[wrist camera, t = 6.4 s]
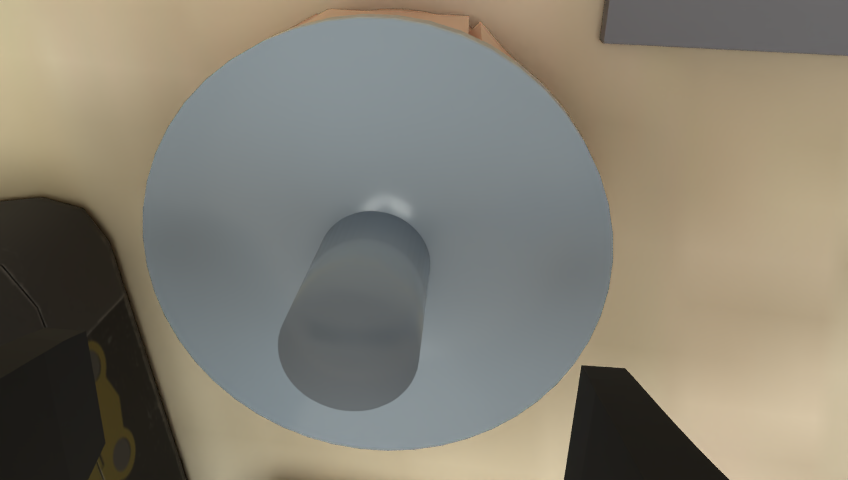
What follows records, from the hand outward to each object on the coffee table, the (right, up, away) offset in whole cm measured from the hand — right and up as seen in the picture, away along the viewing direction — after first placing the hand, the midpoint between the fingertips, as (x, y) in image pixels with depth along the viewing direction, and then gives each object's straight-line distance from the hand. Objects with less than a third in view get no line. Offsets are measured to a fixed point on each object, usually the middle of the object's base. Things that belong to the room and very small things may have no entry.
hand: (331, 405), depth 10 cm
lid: (0, +2, +6) cm, 6 cm away
